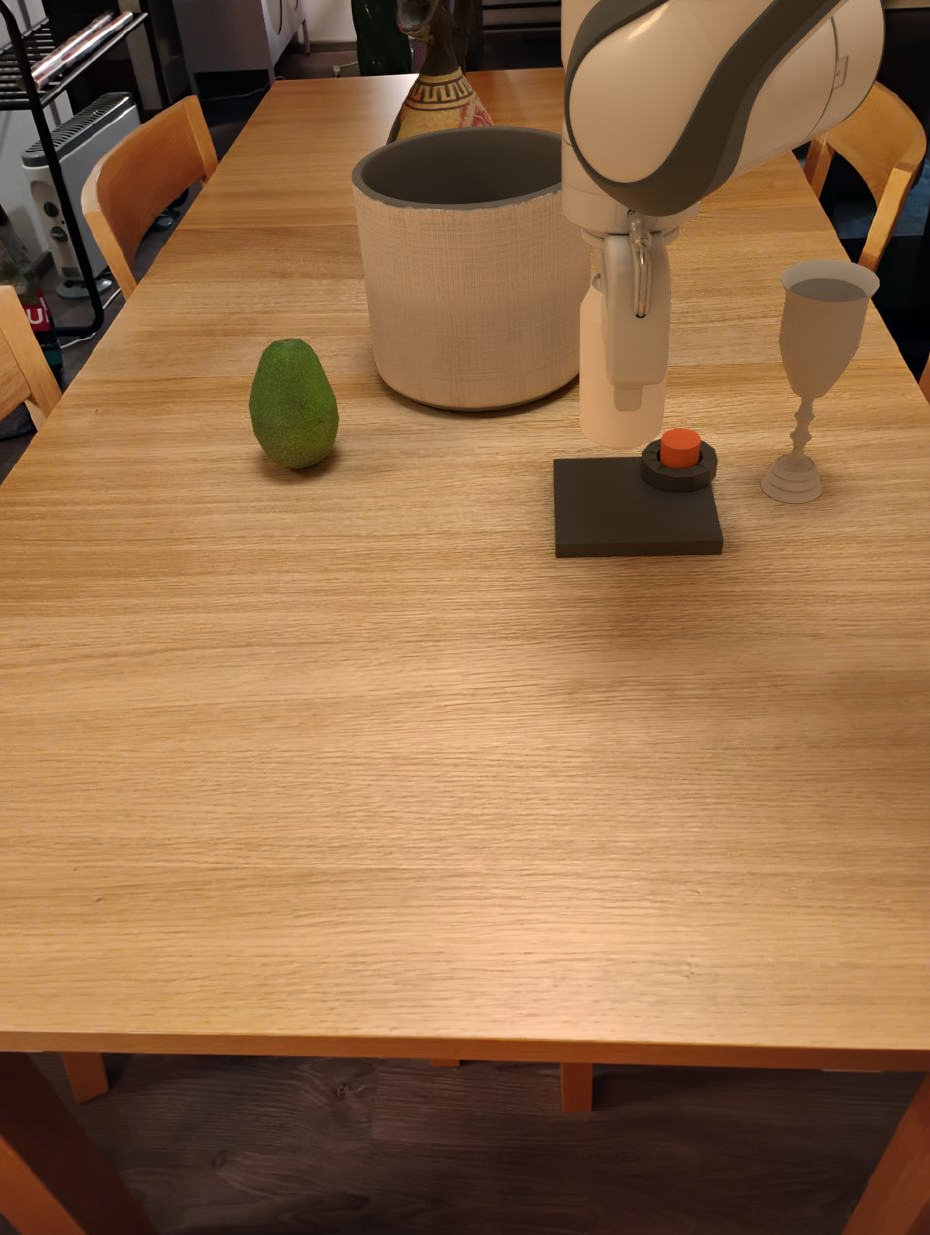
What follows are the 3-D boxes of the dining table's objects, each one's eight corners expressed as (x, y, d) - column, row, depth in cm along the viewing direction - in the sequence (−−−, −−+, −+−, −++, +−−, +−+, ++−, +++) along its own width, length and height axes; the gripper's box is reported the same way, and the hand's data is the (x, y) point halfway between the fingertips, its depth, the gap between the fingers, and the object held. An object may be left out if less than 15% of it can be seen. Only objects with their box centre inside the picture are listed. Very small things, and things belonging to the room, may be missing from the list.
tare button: (696, 448, 84) (698, 427, 83) (700, 469, 82) (703, 448, 81) (658, 449, 85) (659, 428, 83) (661, 470, 82) (663, 449, 81)
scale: (708, 464, 87) (711, 434, 85) (729, 554, 78) (733, 523, 76) (553, 468, 88) (553, 439, 86) (555, 557, 79) (555, 527, 77)
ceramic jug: (470, 280, 119) (450, -12, 98) (365, 259, 125) (327, -18, 105) (538, 228, 129) (533, -46, 109) (438, 212, 135) (416, -49, 115)
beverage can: (563, 429, 76) (562, 277, 68) (629, 404, 78) (636, 254, 70) (610, 466, 72) (616, 309, 64) (679, 439, 74) (693, 284, 66)
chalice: (747, 460, 87) (776, 259, 75) (827, 462, 86) (871, 258, 74) (753, 510, 82) (786, 302, 70) (839, 512, 81) (887, 302, 69)
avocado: (363, 457, 92) (344, 336, 84) (295, 495, 88) (268, 373, 80) (310, 428, 96) (287, 310, 88) (243, 463, 92) (213, 343, 84)
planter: (633, 351, 103) (643, 147, 89) (493, 446, 92) (480, 228, 78) (474, 299, 115) (462, 111, 101) (333, 377, 103) (298, 177, 90)
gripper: (703, 244, 55) (683, 457, 64) (666, 128, 70) (654, 314, 79) (588, 249, 55) (584, 460, 64) (576, 133, 70) (575, 317, 79)
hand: (623, 378), depth 72 cm, fingers closed on beverage can, 6 cm apart
